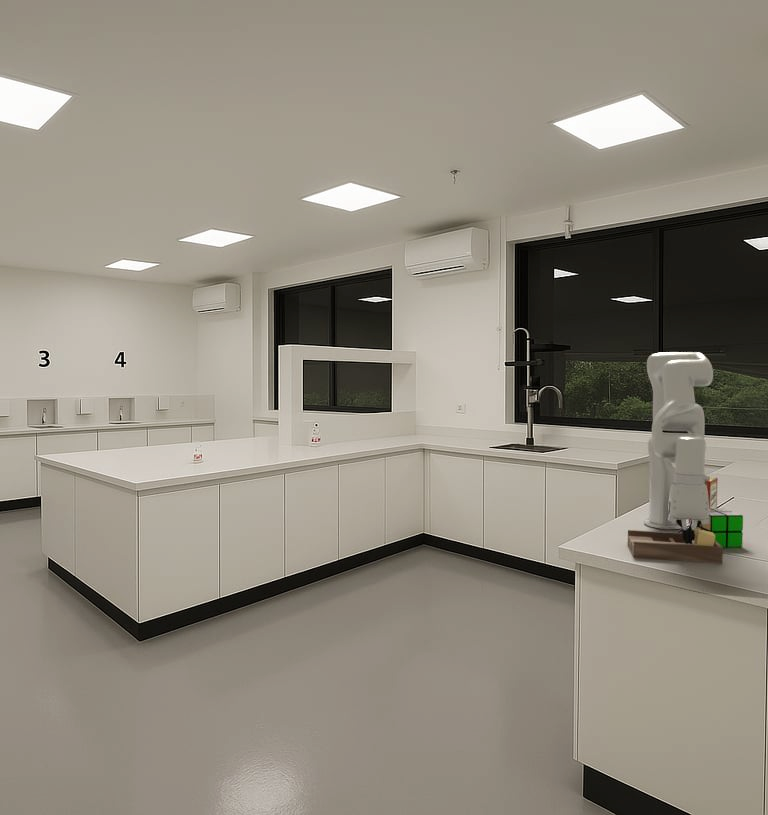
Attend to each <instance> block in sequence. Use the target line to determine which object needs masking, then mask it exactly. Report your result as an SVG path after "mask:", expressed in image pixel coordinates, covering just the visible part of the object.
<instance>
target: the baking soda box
mask: <svg viewBox="0 0 768 815" xmlns="http://www.w3.org/2000/svg"><path fill="white" fill-rule="evenodd" d="M709 477H710V481H705V485H706V486H707V491H708V499H709V509H711V508H718V481H719V480H718V479H719V478H718V477H711V476H709ZM688 524H690V520H689V519H688Z"/></svg>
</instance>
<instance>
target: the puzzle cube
mask: <svg viewBox="0 0 768 815" xmlns="http://www.w3.org/2000/svg"><path fill="white" fill-rule="evenodd" d="M743 525H744V516H743V515H742V514H741V513H738V512H735V511H732V510H729V509H727V508H723V507H722V508H718V507H717V508H711V509H709V523H708V524H701V525H700V526H699V527H697V528H696V530H694V534H696V531H697V529H699V530H704V531H708V532H713V533H714V535H715V540H716V541H717V542H718V543H719V544H720V545H721V546H722V547H723V549H725V548H727V549H728V548H730V549H731V548H732V549H733V548H736V549H737V548H743V534H744V533H743V532H744V531H743V528H744V526H743Z"/></svg>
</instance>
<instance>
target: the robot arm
mask: <svg viewBox="0 0 768 815" xmlns="http://www.w3.org/2000/svg"><path fill="white" fill-rule="evenodd" d="M646 372H647V376H648V379H649V381H650V384H651V387H652V394H653V395H652V424H651V437H650V438H649V439H648V440H647V441H648V442H647V453H648V459H649V499H648V500H649V503H648V504H649V506H648V508H649V509H648V512H649V513H648V518H645V519H644V520H643V521H644V522H643V523H644V525H646V526H647V527H651V528H656V529H660V530H661V529H662V530H679V529H681V533H682V540H684V542H685V543H686V544H688V543H689V544H692V541H694V530H696V528H697V527H699V526H700V525H701V524H708V523H709V499H708V491H707V486H706V485H705V481H710V477H711V476H708V475H706V473H705V465H706V464H705V461H706V460H705V459H706V450H707V449H706V448H707V444H706V443H707V442H706V440H705V426H706V424H705V421H706V420H705V413H704V409H703V407H702V405H699V403H696V399H695V398H696V397H695V390H694V387H708V386H709V385H711V384H712V382H713V379H714V369H713V366H712V363H711V362H710V360H709V359H708V358H707V356H705V354H703V353H702V352H700V351H698V352H697V351H694V352H693V351H687V352H686V351H684V352H683V351H681V352H679V351H669V352H668V351H666V352H657V353H652V354H651V355H649V356H648V358H647V360H646ZM663 431H670V432H663ZM671 431H672V432H671ZM673 431H674V432H673ZM676 431H678V432H676ZM679 431H680V432H679ZM684 432H687V433H684ZM673 464H675V465H673ZM687 520H688V521H689V520H690V523H689V525H688V526H687Z"/></svg>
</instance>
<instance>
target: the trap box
mask: <svg viewBox="0 0 768 815" xmlns="http://www.w3.org/2000/svg"><path fill="white" fill-rule="evenodd" d="M695 535H696V534H694V540H695ZM627 545H628V549H629V550H630V552H631V554H632V556H633V558H634V559H635V558H637V559H651V560H653V559H654V560H666V561H680V562H693V563H694V562H696V563H710V564H723V550H724V548H723V547H722V546H721V545H720V544H719V543H718V542H717V541H716V540H715V541H714V545H713V546H701V545H695V544H694V541H692V544H689V543H688V544H686V543H685V542H684V540H682V532H669V531H653V530H639V529H638V530H636V529H635V530H634V529H627Z"/></svg>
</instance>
